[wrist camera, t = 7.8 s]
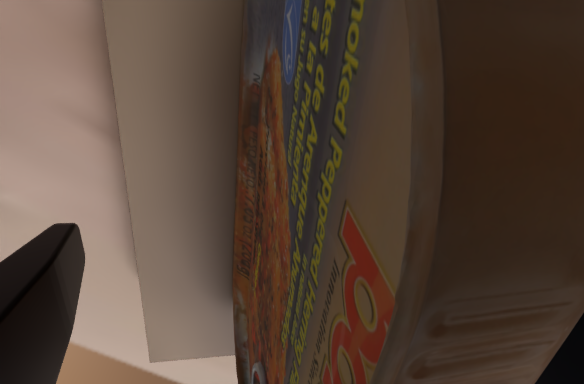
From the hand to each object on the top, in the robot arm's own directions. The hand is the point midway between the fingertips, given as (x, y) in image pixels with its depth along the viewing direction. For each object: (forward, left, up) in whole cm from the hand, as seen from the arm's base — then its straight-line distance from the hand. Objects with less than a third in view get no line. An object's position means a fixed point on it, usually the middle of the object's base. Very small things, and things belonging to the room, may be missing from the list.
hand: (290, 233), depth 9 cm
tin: (0, +1, -3) cm, 3 cm away
